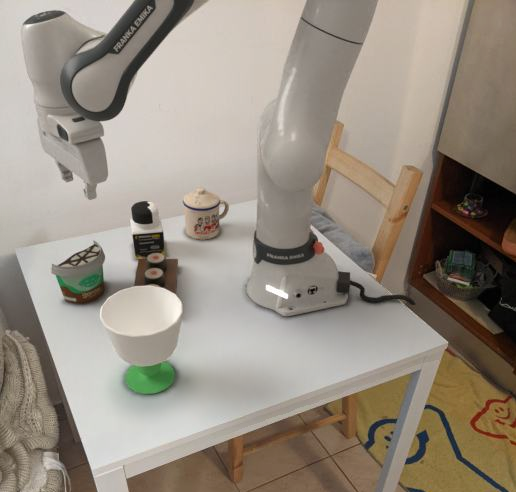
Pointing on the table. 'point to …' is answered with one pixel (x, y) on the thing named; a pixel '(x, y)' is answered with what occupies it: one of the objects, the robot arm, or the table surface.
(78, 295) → the food container
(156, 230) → the medicine bottle
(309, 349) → the table surface
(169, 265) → the sushi board
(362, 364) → the table surface
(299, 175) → the robot arm
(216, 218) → the teacup with lid
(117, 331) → the cup
